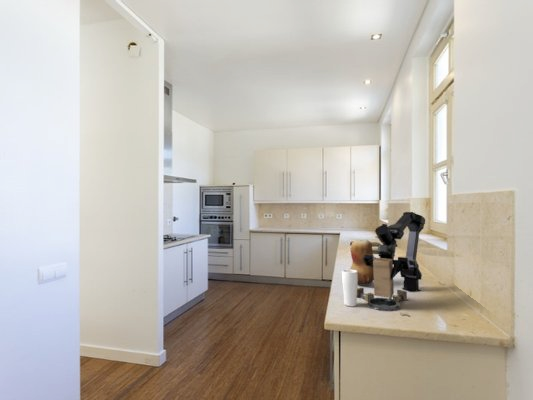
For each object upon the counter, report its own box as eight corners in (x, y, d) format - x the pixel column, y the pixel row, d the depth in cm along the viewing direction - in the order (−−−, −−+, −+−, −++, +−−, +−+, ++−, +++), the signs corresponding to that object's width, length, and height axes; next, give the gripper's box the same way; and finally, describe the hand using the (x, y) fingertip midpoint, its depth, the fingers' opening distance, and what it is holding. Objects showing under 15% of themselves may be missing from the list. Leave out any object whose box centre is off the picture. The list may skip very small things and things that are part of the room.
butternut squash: (345, 283, 170) (344, 238, 171) (365, 281, 174) (364, 237, 175) (360, 289, 157) (359, 241, 157) (381, 287, 161) (380, 240, 162)
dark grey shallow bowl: (386, 299, 139) (386, 296, 139) (406, 309, 126) (406, 305, 126) (361, 302, 136) (361, 299, 136) (379, 312, 123) (378, 308, 123)
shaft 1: (355, 297, 144) (355, 288, 144) (362, 295, 145) (361, 287, 146) (367, 301, 136) (367, 293, 136) (374, 300, 138) (374, 291, 138)
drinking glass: (349, 308, 128) (349, 273, 128) (339, 304, 134) (338, 270, 134) (361, 306, 131) (360, 271, 131) (350, 301, 137) (349, 268, 137)
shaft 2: (398, 298, 141) (398, 289, 141) (406, 300, 138) (406, 291, 138) (388, 301, 136) (388, 292, 136) (396, 303, 133) (396, 294, 133)
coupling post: (378, 290, 135) (377, 257, 135) (393, 293, 131) (392, 259, 131) (374, 295, 130) (373, 261, 129) (390, 297, 126) (388, 262, 126)
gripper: (364, 236, 140) (356, 264, 130) (407, 238, 129) (403, 269, 120) (369, 251, 146) (363, 279, 137) (411, 254, 135) (407, 284, 126)
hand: (382, 277), depth 130 cm, fingers closed on coupling post, 6 cm apart
